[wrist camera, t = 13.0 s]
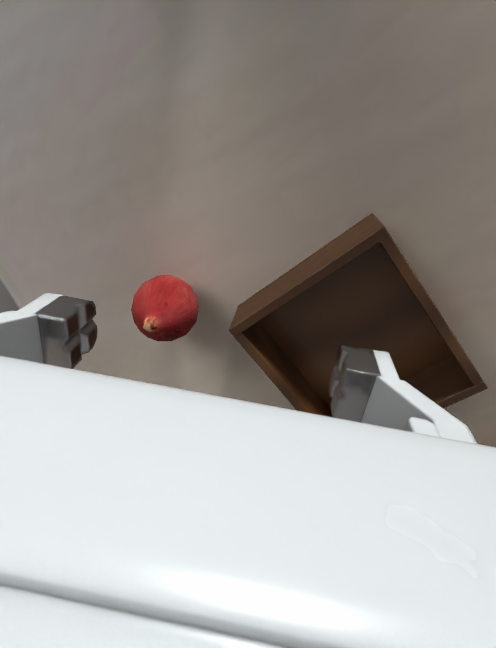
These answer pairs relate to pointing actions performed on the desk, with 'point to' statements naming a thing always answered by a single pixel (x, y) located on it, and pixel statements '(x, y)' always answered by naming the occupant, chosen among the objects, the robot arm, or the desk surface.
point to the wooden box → (352, 322)
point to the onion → (165, 308)
